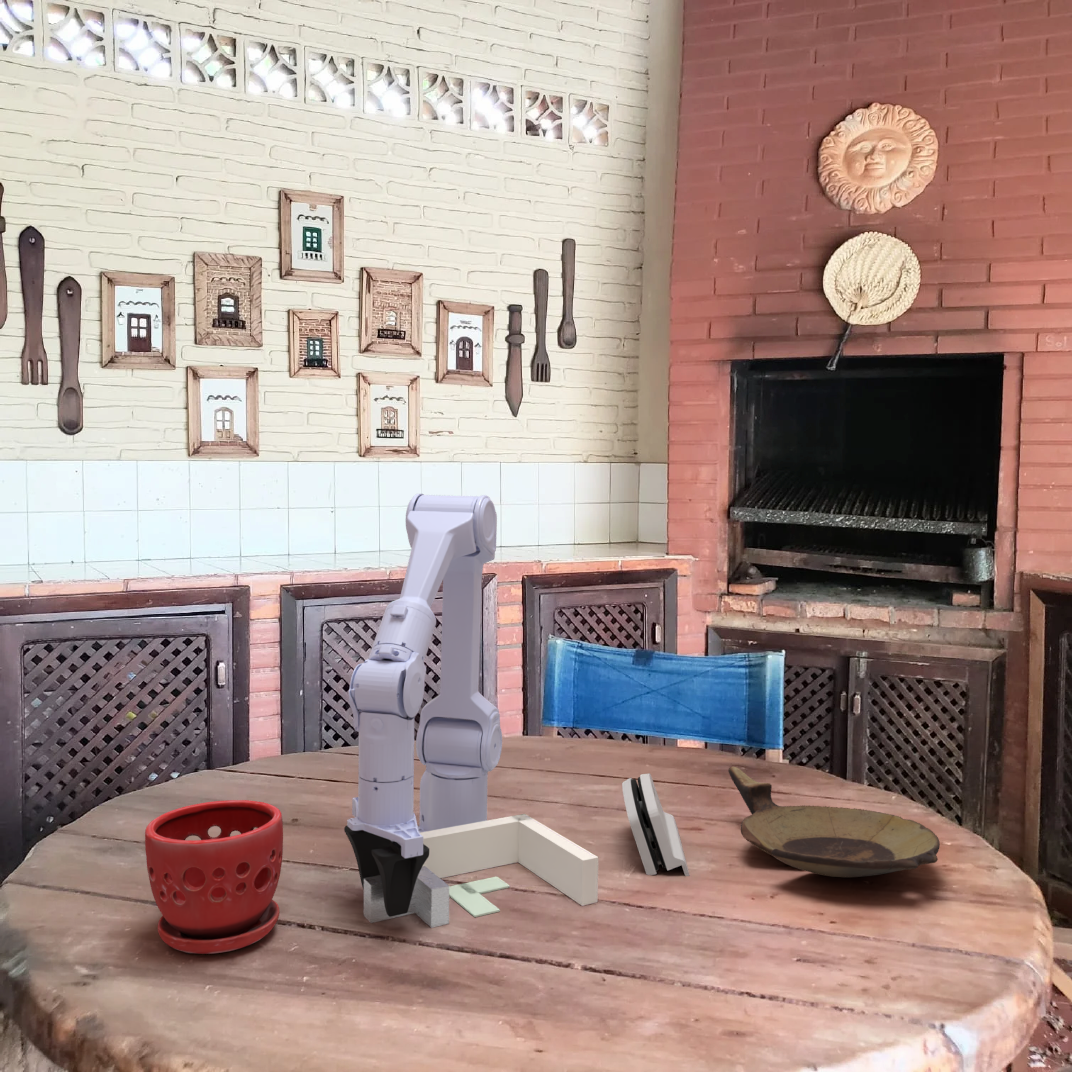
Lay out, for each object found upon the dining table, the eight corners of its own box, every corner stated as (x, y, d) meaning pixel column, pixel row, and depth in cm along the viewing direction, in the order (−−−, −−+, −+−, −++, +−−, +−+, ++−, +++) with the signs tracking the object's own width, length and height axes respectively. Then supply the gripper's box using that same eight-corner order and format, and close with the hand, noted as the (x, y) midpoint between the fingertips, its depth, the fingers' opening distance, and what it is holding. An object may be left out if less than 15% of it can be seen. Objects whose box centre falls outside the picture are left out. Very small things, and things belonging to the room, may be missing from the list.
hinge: (690, 877, 118) (662, 796, 118) (651, 889, 119) (624, 809, 118) (677, 827, 135) (653, 756, 135) (643, 837, 135) (619, 767, 135)
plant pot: (275, 899, 110) (275, 791, 110) (290, 954, 98) (290, 832, 97) (146, 916, 106) (145, 802, 105) (144, 975, 93) (144, 847, 93)
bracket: (385, 938, 102) (385, 899, 101) (363, 915, 107) (363, 878, 106) (448, 923, 105) (449, 885, 105) (424, 902, 110) (425, 866, 110)
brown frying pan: (796, 918, 108) (798, 847, 108) (697, 822, 138) (699, 766, 137) (984, 904, 113) (987, 836, 112) (849, 814, 142) (851, 760, 141)
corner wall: (386, 881, 116) (387, 838, 115) (524, 853, 125) (524, 813, 124) (448, 938, 102) (449, 889, 101) (597, 902, 111) (598, 857, 111)
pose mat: (441, 889, 114) (441, 888, 114) (496, 878, 117) (496, 876, 117) (474, 917, 107) (474, 915, 107) (532, 903, 110) (532, 902, 110)
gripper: (325, 761, 110) (325, 884, 111) (376, 800, 98) (375, 937, 99) (386, 753, 114) (385, 872, 115) (442, 789, 101) (441, 922, 102)
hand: (385, 901), depth 107 cm, fingers open, 6 cm apart
